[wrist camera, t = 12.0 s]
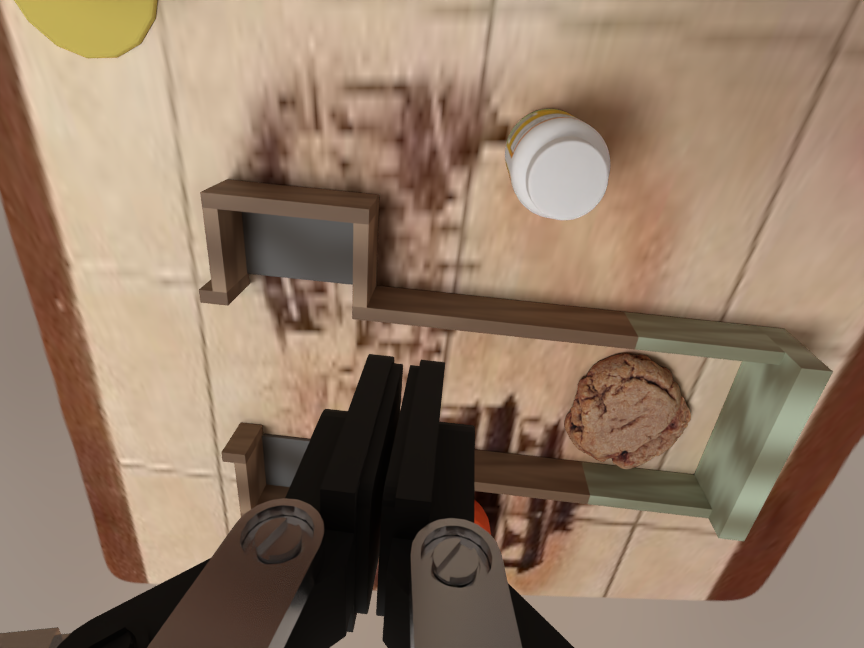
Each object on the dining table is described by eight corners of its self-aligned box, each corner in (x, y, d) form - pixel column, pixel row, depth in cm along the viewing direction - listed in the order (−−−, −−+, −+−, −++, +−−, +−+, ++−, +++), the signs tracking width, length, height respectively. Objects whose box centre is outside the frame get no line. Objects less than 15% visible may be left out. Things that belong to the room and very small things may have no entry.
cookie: (670, 335, 40) (684, 355, 38) (692, 437, 44) (706, 462, 42) (545, 370, 42) (550, 391, 40) (578, 464, 47) (584, 489, 44)
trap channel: (213, 177, 37) (168, 198, 32) (824, 239, 36) (885, 271, 30) (247, 487, 51) (221, 537, 45) (688, 539, 49) (714, 597, 44)
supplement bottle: (579, 193, 35) (612, 237, 27) (500, 190, 36) (508, 232, 27) (593, 109, 33) (634, 126, 24) (508, 105, 33) (520, 122, 25)
